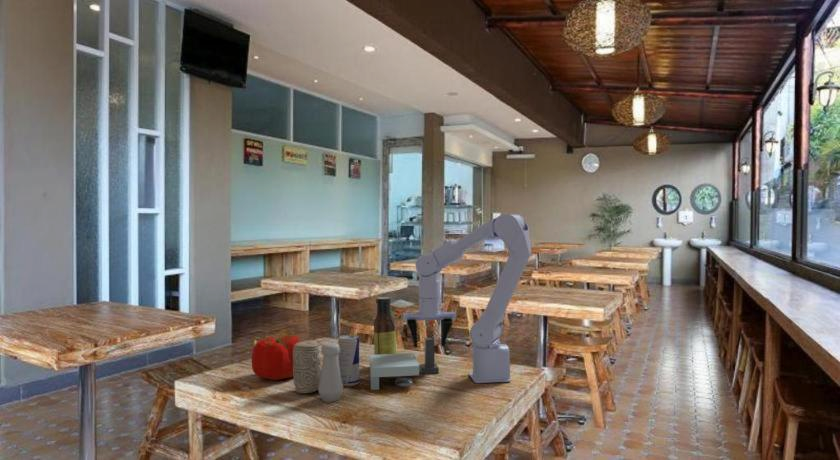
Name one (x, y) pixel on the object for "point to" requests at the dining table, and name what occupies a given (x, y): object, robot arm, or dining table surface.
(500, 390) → the dining table surface
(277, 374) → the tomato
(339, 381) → the salt shaker
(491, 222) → the robot arm
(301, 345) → the carving
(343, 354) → the energy drink
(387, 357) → the pale grey angled bracket
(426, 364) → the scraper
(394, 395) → the dining table surface
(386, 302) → the sauce bottle
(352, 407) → the dining table surface
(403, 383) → the token
